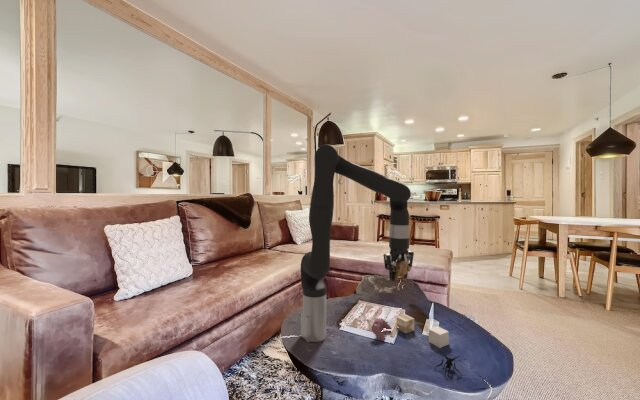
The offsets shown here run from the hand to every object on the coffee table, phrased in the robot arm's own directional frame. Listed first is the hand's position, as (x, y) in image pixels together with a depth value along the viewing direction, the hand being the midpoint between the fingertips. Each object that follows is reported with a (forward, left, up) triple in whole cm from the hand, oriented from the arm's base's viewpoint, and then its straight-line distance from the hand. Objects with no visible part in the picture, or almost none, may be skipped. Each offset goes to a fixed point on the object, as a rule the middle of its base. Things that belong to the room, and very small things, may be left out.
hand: (398, 279), depth 112 cm
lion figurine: (+1, +1, -1) cm, 2 cm away
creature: (-1, -23, -24) cm, 33 cm away
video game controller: (-4, +5, -24) cm, 25 cm away
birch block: (+8, +4, -24) cm, 25 cm away
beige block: (+11, -10, -24) cm, 28 cm away
